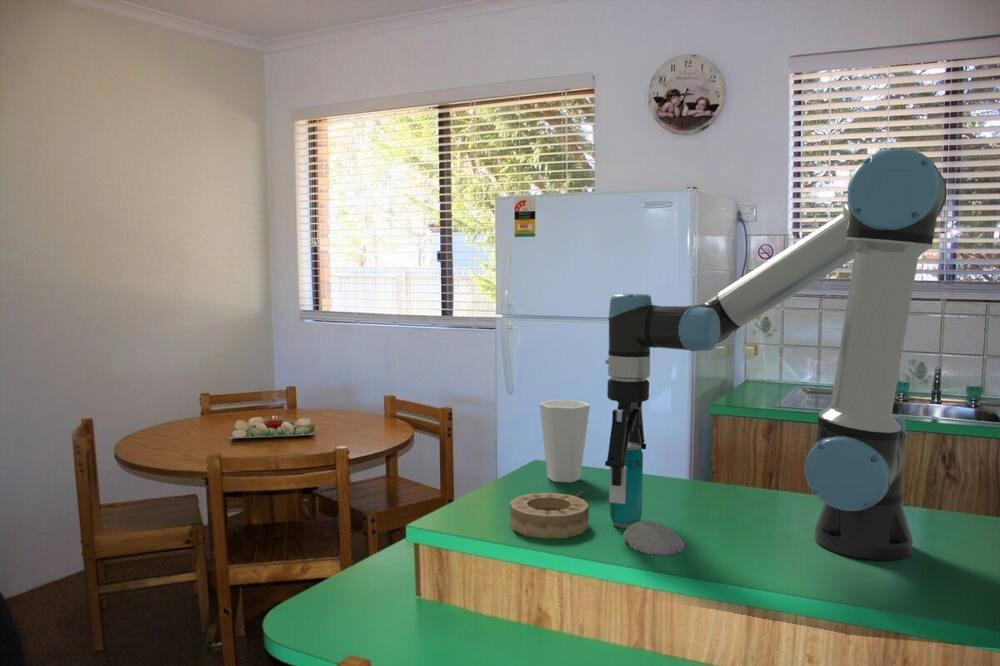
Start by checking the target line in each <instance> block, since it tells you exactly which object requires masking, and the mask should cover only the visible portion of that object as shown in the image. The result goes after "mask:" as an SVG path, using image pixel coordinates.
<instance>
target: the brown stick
mask: <svg viewBox="0 0 1000 666" xmlns="http://www.w3.org/2000/svg"><path fill="white" fill-rule="evenodd" d="M573 496H574V497H577V498H580V499H581V497H582V496H583V491H578V492H577V493H575V495H573Z"/></svg>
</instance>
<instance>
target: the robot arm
mask: <svg viewBox="0 0 1000 666" xmlns="http://www.w3.org/2000/svg"><path fill="white" fill-rule="evenodd" d="M847 185H848V186H847V191H846V192H847V193H846V194H847V201H846V202H845V203H844V205H843V209H842V212H841V213H840V214H838V215H836V216H834V218H832V219H830V220H829V221H827V222H825V223H824V224H822V225H820V227H818V228H816V229H815V230H813V231H812V232H809V234H807V235H805V236H804V237H803V238H801V239H800V240H798V241H797V242H794V243H793V244H791V245H790V246H788V247H787V248H786V249H784V250H783V251H781V252H779V253H778V254H776V255H774V256H773V257H772V258H770V259H769V260H767V261H765V262H764V263H763V264H761V265H760V266H758V267H756V268H755V269H752V271H750V272H748V273H747V274H746V275H743V276H742V277H741V278H739V279H738V280H736V281H734V282H733V283H731V284H730V285H729V286H727V287H726V288H723V289H722V290H721V291H720V292H719V291H718V293H717V294H715V295H713V296H712V297H710V298H709V299H707V300H705V301H703V302H702V303H700V304H695V305H686V306H683V305H681V306H679V305H678V306H675V305H673V306H671V305H669V306H667V305H664V306H663V305H656V304H653V302H652V301H653V300H652V296H651V295H650V294H646V293H614V295H612V296H611V298H610V299H609V301H610V302H609V311H608V317H607V319H608V350H607V351H608V357H607V359H605V361H604V363H605V364H606V365H607V368H608V369H607V375H608V377H611V378H609V379H608V380H607V389H606V390H607V395H606V396H607V398H608V399H609V400H610V401H612V402H613V401H614V402H617V404H618V405H617V409H613V410H612V411H611V412H612V418H611V419H612V421H611V428H610V429H611V430H610V436H609V445H608V450H607V451H608V452H607V460H605V463H604V465H605V467H609V500H608V501H609V503H610V502H612V503H621V504H625V496H626V467H625V459H626V454H627V448H628V443H629V442H635V443H639V444H641V450H647V449H646V448H647V443H645V442H646V441H645V435H644V434H645V433H644V423H643V422H644V421H643V406H642V405H643V402H647V401H648V400H649V399H650V381H649V380H648V379H647V378H649V377H650V376H651V348H656V349H657V348H660V349H661V348H662V349H671V350H683V351H684V350H685V351H690V352H700V351H701V352H703V351H704V352H709V351H712V350H714V349H715V348H716V345H717V344H719V343H721V342H723V341H726V339H728V338H729V337H730V336H731V335H732V334H733V332H735V331H737V330H738V329H740V328H741V327H743V326H745V325H747V324H748V323H750V322H751V321H753V320H754V319H757V318H758V317H759V316H761V315H763V314H765V313H766V312H768V311H770V310H771V309H774V307H776V306H778V305H779V304H781V303H783V302H785V301H787V299H790V298H791V297H793V296H794V295H796V294H798V293H799V292H801V291H802V290H804V289H806V288H807V287H809V286H811V285H813V284H814V283H816V282H817V281H819V280H821V279H822V278H825V277H826V276H827V275H829V274H831V273H833V272H835V271H836V270H838V269H839V268H840V267H842V266H845V264H847V263H848V262H851V261H853V263H852V266H851V267H852V268H851V275H850V280H849V281H850V282H849V288H848V293H847V294H848V295H847V299H846V305H845V307H846V308H845V313H844V318H843V319H844V320H843V325H842V332H841V338H840V345H839V350H838V358H837V363H836V371H835V376H834V383H833V387H832V394H831V401H830V404H829V405H828V406H827V407H826V408H824V409H822V410H820V411H819V413H818V418H817V422H816V430H815V433H814V442H813V445H812V447H811V448H810V449H809V451H808V453H807V455H806V458H805V463H804V475H805V479H806V482H807V484H808V486H809V488H810V489H811V491H812V492H813V494H815V496H816V497H817V498H818V499H820V501H822V502H823V506H822V508H821V511H820V513H819V515H818V518H817V520H816V524H815V526H814V540H815V542H816V543H817V544H818V545H819V546H821V547H823V548H824V549H826V550H829V551H831V552H834V553H837V554H840V555H843V556H849V557H853V558H856V559H857V558H858V559H865V560H875V561H895V560H901V559H905V558H908V557H909V556H911V555H912V553H913V536H912V533H911V530H910V527H909V524H908V520H907V517H906V514H905V509H904V508H903V507H904V506H903V496H904V495H903V493H904V471H905V470H904V469H905V453H906V452H905V450H906V447H905V446H906V438H907V436H908V433H907V431H906V427H907V426H906V422H905V421H906V420H905V419H904V418H903V417H901V416H899V415H894V414H893V408H894V403H895V397H896V391H897V386H898V379H899V373H900V368H901V362H902V356H903V350H904V345H905V344H904V343H905V339H906V338H905V337H906V332H907V326H908V320H909V315H910V314H909V313H910V308H911V302H912V297H913V296H912V295H913V290H914V285H915V279H916V274H917V273H916V272H917V266H918V262H919V261H918V260H919V258H920V257H921V255H923V254H924V253H925V252H927V251H928V250H930V249H931V248H932V247H933V242H934V238H935V231H936V226H937V225H936V224H937V220H938V216H939V215H940V214H941V212H942V210H943V209H944V207H945V204H946V200H947V197H948V196H947V194H948V193H947V183H946V181H945V179H944V176H943V175H942V173H941V172H940V171H939V168H938V167H937V165H936V164H935V162H934V161H933V160H932V159H930V157H928V156H926V155H925V154H924V153H921V152H918V151H917V150H912V149H907V148H906V149H905V148H900V147H899V148H888V149H885V150H880V151H878V152H875V153H873V154H872V155H870V156H868V157H867V158H866V159H865V160H863V161H861V162H860V164H859V165H857V167H856V168H855V169H854V171H853V173H852V174H851V176H850V179H849V181H848V184H847ZM616 458H617V459H616Z"/></svg>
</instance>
